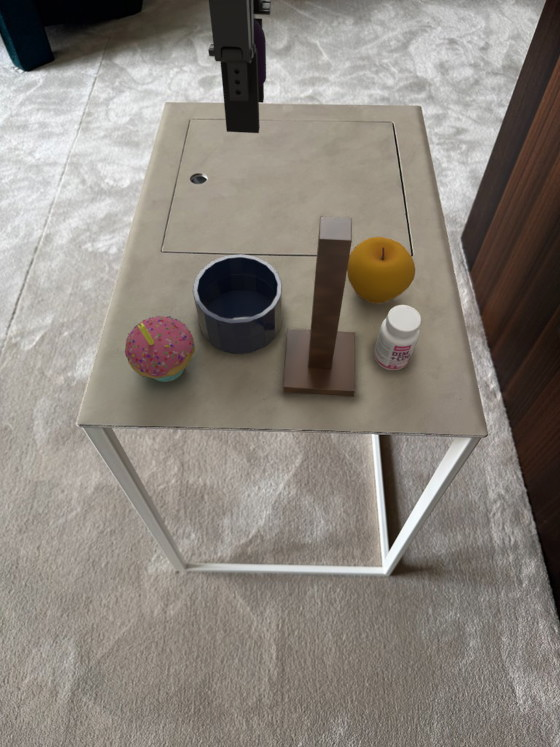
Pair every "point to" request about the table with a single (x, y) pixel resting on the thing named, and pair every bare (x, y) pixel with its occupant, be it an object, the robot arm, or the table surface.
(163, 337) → the cupcake
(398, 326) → the pill bottle
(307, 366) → the stand
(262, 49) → the purple plum
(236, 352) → the pot
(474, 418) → the table surface
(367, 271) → the apple
